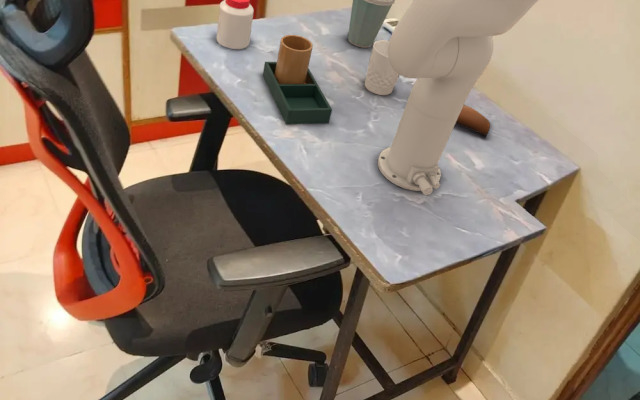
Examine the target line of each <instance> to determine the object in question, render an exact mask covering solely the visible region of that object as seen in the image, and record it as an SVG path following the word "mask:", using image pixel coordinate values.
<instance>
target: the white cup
mask: <svg viewBox="0 0 640 400" xmlns="http://www.w3.org/2000/svg"><path fill="white" fill-rule="evenodd" d="M389 42H390V40H386V39H382V40H377V41H374V42H373V44H372V49H371V52H370V57H369V62H368V66H367V69H366V70H367V71H366V76H365V80H364V86H365V88H366V89H367V90H368V91H369V92H371V93H373V94H374V95H379V96H389V95H391V94H392V93H393V91H394V89H395V85H397V82H398V79H399V77H400V75H399V74H398V73H396V72H395V71H394V70H393V68H392V66H391V65H390V62H389V57H388V47H389Z"/></svg>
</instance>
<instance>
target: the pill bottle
mask: <svg viewBox="0 0 640 400" xmlns="http://www.w3.org/2000/svg"><path fill="white" fill-rule="evenodd" d="M218 8H219V9H218V16H217V17H218V19H217V28H216V41H217V43H218V44H219V45H220V46H222V47H225V48H226V49H231V50H243V49H246V48H247V47H249V45H250V43H251V42H250V41H251V35H252V27H253V20H254V12H255V10H254V7H253V6H252V4H251V0H222V1H221V2H220V3H219V7H218Z"/></svg>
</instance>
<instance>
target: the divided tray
mask: <svg viewBox="0 0 640 400" xmlns="http://www.w3.org/2000/svg"><path fill="white" fill-rule="evenodd" d="M276 64H277V61H264V64H263V71H262V77H263V79H264V81H265V84H266V85H267V88H268V90H269V92H270V94H271V96H272V98H273V100H274V102H275V105H276V107H277V109H278V111H279V113H280V116H281V117H282V120H283V121H284V124H285V125H286V126H289V125H291V126H292V125H317V124H318V125H319V124H320V125H321V124H329V123H330V120H331V115H332V112H333V108H332V106H331V104H330V103H329V101H328V99H327V98H326V96H325V94H324V93H323V91H322V89H321V87H320V85H319V84H318V82H317V79H315V77H314V75H313V73H312V71H311V70H310V68H309V67H308V71H307V75H306V80H305V84H278V82H277V80H276V78H275V70H276Z"/></svg>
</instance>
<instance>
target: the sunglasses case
mask: <svg viewBox="0 0 640 400" xmlns="http://www.w3.org/2000/svg"><path fill="white" fill-rule="evenodd" d="M455 125H459V126H461V127H463V128H466V129H469V130H470V131H474V132H475V133H476V132H477V133H478V134H481V135H482V136H483V135H484V136H485V137H488V134H489V132H490V130H491V129H490V128H491V122H490V121H489V119H488V118H487V117H485V116H484V115H483V114H481V113H480V112H479V111H478V110H476V109H475V108H472V107H471V106H468V105H466V104H464V105H463V108H462V110H461V112H460V114H459V116H458V119H457V121H456V123H455Z"/></svg>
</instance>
